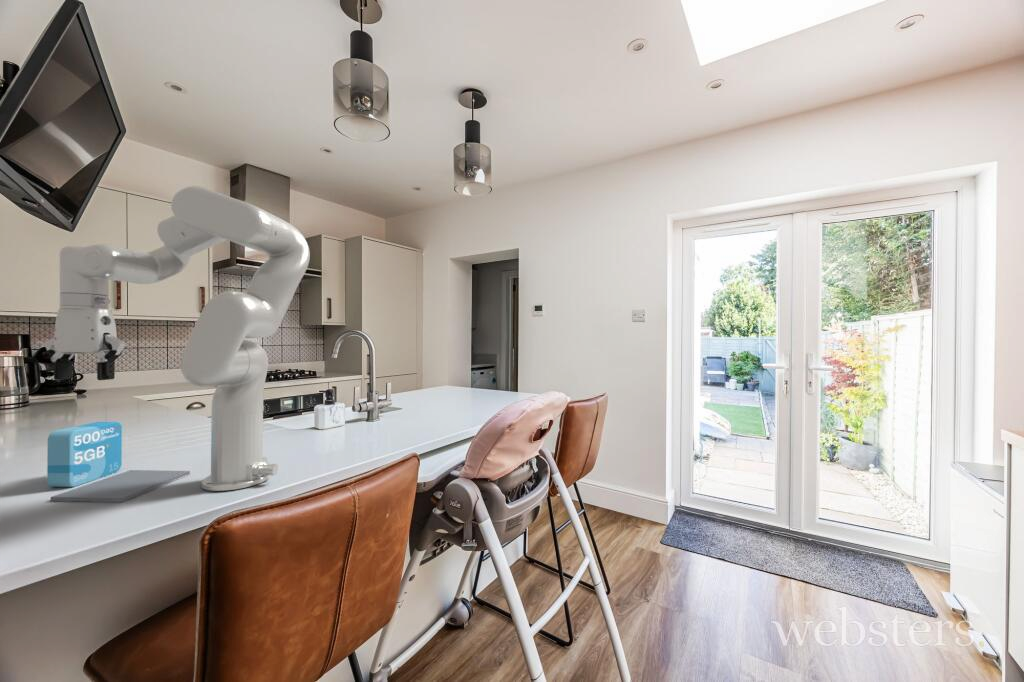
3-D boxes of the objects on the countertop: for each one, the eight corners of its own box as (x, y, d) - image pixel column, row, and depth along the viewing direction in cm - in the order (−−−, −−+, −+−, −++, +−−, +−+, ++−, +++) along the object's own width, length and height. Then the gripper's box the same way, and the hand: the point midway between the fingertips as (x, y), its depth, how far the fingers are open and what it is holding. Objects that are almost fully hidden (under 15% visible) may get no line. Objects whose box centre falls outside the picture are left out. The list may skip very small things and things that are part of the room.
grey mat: (189, 474, 93) (189, 470, 93) (122, 502, 77) (122, 498, 77) (130, 473, 93) (130, 470, 93) (50, 501, 77) (50, 496, 77)
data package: (69, 489, 83) (69, 432, 83) (46, 489, 83) (46, 432, 83) (122, 470, 95) (122, 420, 95) (102, 470, 95) (102, 420, 95)
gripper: (138, 304, 93) (138, 378, 93) (66, 304, 93) (66, 377, 93) (105, 301, 85) (105, 381, 85) (26, 301, 86) (26, 381, 86)
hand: (84, 379), depth 89 cm, fingers open, 9 cm apart
